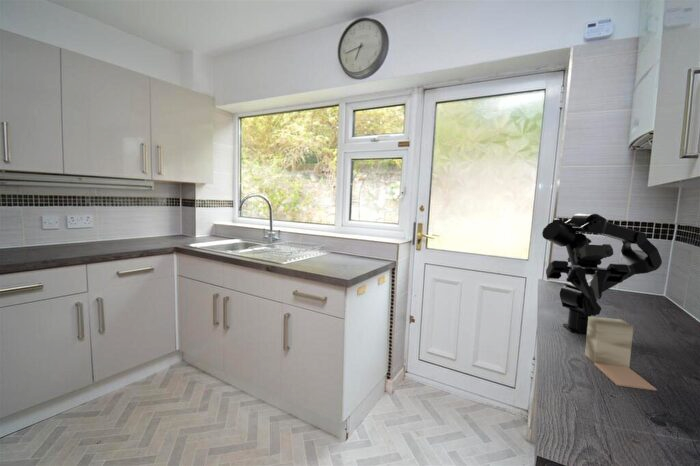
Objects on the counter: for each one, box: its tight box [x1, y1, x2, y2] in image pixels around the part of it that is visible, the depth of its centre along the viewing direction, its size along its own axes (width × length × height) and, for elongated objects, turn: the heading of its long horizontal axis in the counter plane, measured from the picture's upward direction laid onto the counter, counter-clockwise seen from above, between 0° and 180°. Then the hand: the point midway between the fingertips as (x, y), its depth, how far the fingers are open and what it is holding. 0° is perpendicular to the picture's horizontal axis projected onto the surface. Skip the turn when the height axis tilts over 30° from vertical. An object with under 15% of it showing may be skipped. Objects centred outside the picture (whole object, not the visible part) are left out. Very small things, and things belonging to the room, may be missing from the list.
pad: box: [593, 362, 658, 392], centre depth 71 cm, size 10×7×1 cm
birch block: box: [584, 315, 634, 368], centre depth 78 cm, size 5×7×10 cm
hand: (595, 298), depth 84 cm, fingers closed
